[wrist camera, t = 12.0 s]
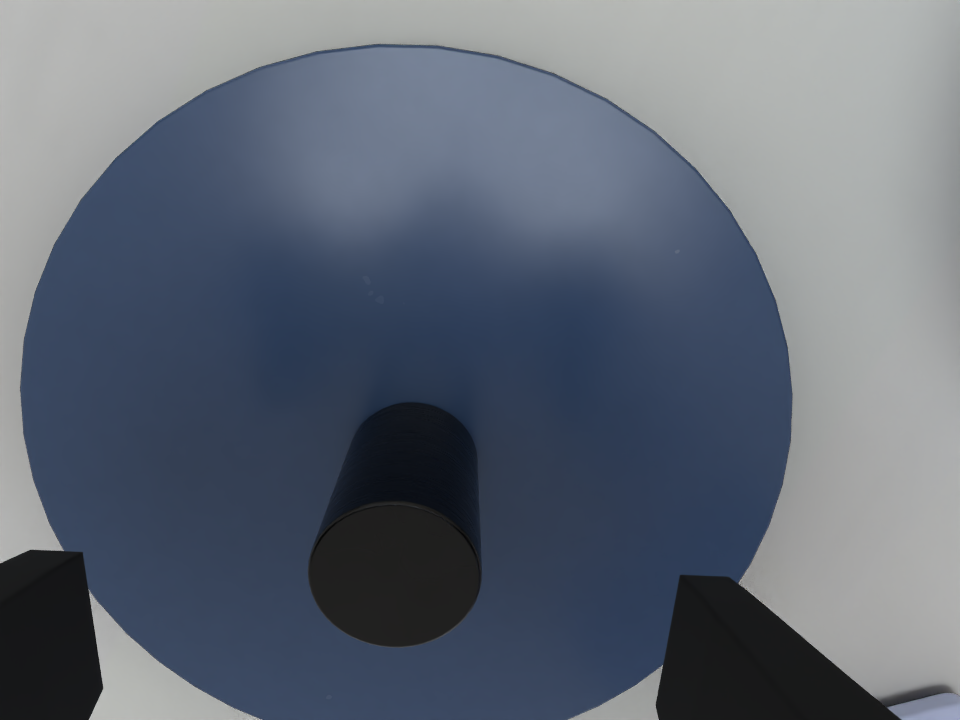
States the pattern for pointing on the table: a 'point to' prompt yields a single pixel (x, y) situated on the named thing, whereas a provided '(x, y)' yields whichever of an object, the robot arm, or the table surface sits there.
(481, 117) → the tin lid
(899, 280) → the table surface
